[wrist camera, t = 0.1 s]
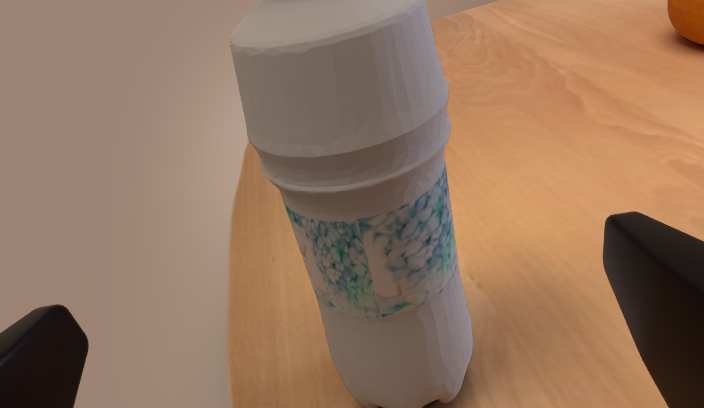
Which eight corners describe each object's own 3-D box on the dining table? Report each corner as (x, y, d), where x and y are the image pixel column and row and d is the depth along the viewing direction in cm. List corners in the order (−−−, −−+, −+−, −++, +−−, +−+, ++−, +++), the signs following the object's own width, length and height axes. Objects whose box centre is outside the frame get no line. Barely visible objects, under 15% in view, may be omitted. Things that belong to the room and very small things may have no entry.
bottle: (344, 325, 28) (211, -97, 17) (471, 312, 26) (415, -149, 16) (333, 443, 22) (124, -75, 11) (493, 432, 21) (429, -153, 10)
